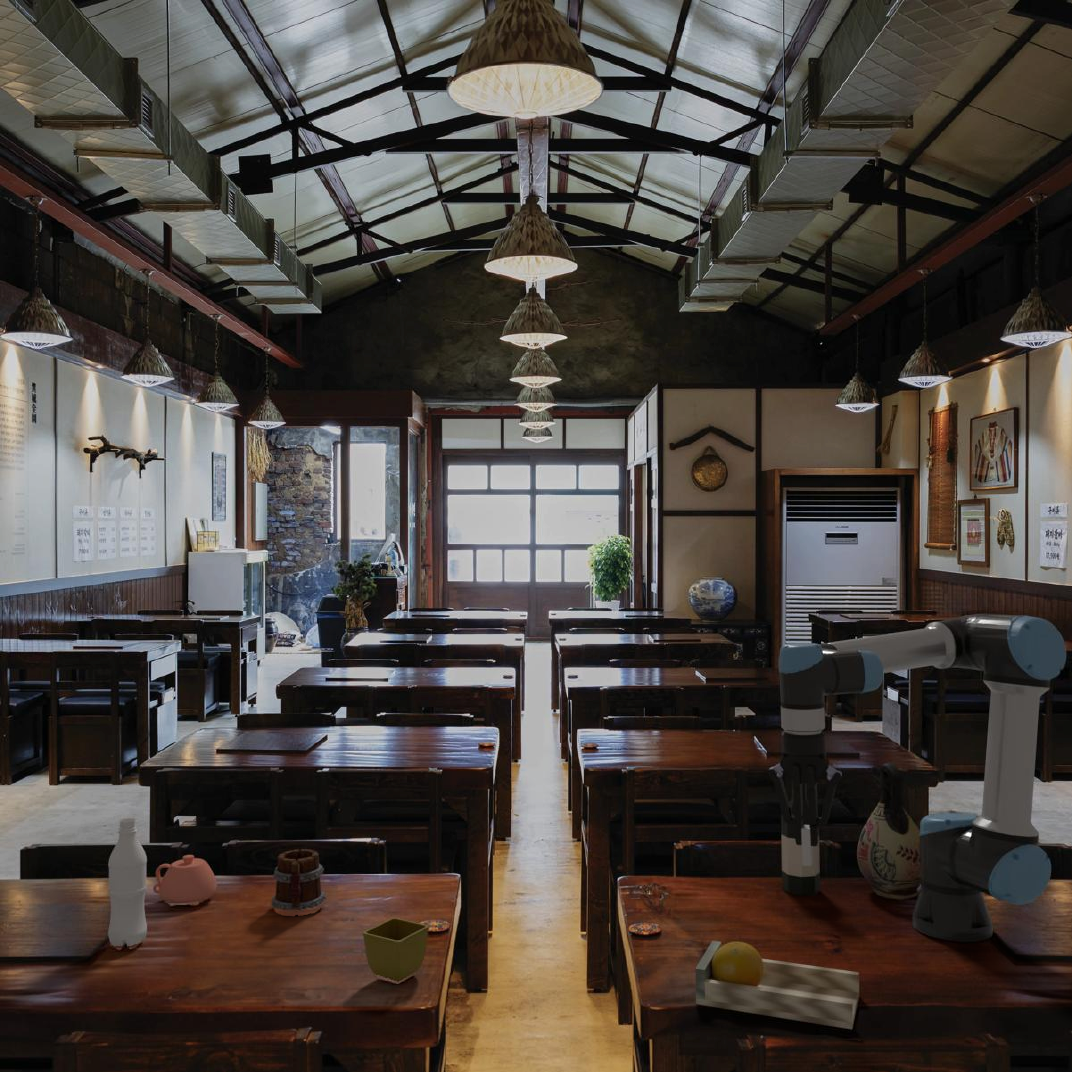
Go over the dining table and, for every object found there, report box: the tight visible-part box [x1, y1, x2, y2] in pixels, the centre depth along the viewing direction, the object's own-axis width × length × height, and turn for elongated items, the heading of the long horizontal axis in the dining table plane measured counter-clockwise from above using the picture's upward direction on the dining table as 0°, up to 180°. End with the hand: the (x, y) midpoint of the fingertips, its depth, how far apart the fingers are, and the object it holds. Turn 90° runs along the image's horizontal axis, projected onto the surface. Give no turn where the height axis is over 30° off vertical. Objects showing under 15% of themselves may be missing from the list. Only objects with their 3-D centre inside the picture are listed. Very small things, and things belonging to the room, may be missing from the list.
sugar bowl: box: [152, 854, 218, 903], centre depth 226 cm, size 12×14×10 cm
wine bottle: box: [780, 781, 821, 896], centre depth 230 cm, size 8×8×30 cm
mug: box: [270, 848, 327, 910], centre depth 219 cm, size 12×14×15 cm
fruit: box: [712, 941, 763, 987], centre depth 174 cm, size 9×8×8 cm
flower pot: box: [362, 917, 429, 982], centre depth 183 cm, size 9×9×9 cm
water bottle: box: [107, 817, 148, 947], centre depth 200 cm, size 7×7×25 cm
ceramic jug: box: [856, 762, 921, 901], centre depth 226 cm, size 17×15×30 cm
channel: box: [694, 940, 860, 1030], centre depth 173 cm, size 26×13×6 cm, turn 68°
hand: (807, 863), depth 178 cm, fingers closed
